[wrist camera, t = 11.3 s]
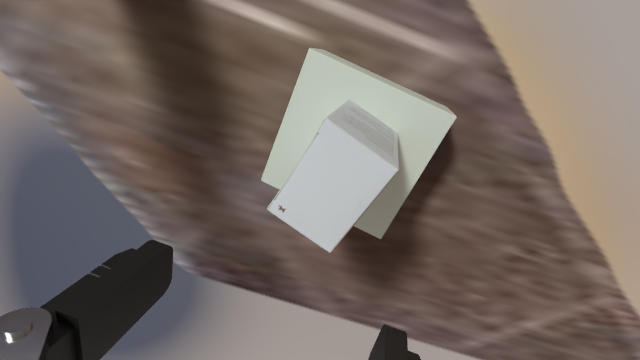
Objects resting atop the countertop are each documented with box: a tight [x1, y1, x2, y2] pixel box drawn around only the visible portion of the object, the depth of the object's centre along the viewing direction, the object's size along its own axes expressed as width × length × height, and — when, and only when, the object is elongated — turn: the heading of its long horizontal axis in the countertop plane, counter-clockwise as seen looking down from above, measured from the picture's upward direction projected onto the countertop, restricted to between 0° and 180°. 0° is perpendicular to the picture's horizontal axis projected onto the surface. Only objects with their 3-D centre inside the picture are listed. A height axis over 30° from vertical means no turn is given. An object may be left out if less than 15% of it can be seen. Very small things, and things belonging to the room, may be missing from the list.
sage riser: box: [261, 48, 457, 239], centre depth 32 cm, size 14×14×6 cm
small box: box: [267, 100, 399, 253], centre depth 25 cm, size 8×6×10 cm
